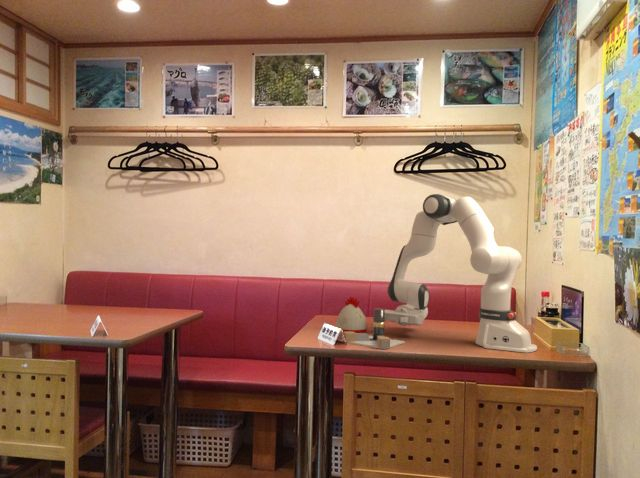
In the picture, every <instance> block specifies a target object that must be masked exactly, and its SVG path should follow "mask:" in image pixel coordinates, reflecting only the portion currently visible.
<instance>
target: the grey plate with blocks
mask: <svg viewBox="0 0 640 478" xmlns="http://www.w3.org/2000/svg"><path fill="white" fill-rule="evenodd" d="M343 335H344V338H345V340H346V342H347V343H346V344H350V343H351V344H352V345H356V346H364V347H369V348H375V349H380V350H386V349H387V350H388V349H390V348H392V347H396V346H399V345H402V344H405V341H404V340H398V339H391V338H390V337H389V336H385V335H384V336H377V340H373V335H370V334H369V333H368V332H366V333H355V332H353V331H349V332H343ZM351 344H350V345H351Z"/></svg>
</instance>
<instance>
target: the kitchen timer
mask: <svg viewBox="0 0 640 478" xmlns="http://www.w3.org/2000/svg"><path fill="white" fill-rule="evenodd" d="M346 299H347V300H345V301H344V305H345V306H344V307H343V308H342V309H341V311H339V314H338V315H337V319H336V322H335V327H338V328H341V329H342V330H343V332H349V331H353V332H355V333H365V332H366V333H368V326H367V325H368V324H367V321H366V315H365V314H364V313H363V311H362V310H361V308H360V307H359V304H360V300H358V298H357V297H354V296H353V297H352V296H349V298H346Z"/></svg>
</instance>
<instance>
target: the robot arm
mask: <svg viewBox="0 0 640 478" xmlns="http://www.w3.org/2000/svg"><path fill="white" fill-rule="evenodd" d="M454 223H455V224H456V223H457V224H458V225H459V227H460V228H461V230H462V232H463V235H464V236H465V237H466V239H467V241H468V242H469V247H470V249H471V254H470V257H469V261H470V265H471V267H472V268H473V270H474V271H475V272H478V273H481V274H484V275H487V278H486V281H485V283H484V284H483V285H482V287H481V288H480V289H481V290H480V307H479V312H478V320H479V321H478V322H479V327H478V334H477V336H476V340H475V344H476V345H477V346H479V347H480V346H481V347H482V348H485V349H488V350H489V349H490V350H499V351H508V352H509V351H510V352H517V353H527V354H528V353H533V352H535V351H537V350H538V346H537V345H536V344H534V343H533V344H532V340H531V339H532V338H531V334H530V332H529V331H528V329H526V328H525V327H524V326H522V325H521V324H520V323H519V322H518V321H517V320H516V315H517V312H515V311H513V310H512V309H511V299H512V289H513V288H512V287H513V283H514V280H515V276H516V274H517V272H518V269H520V268H521V265H522V262H523V258H522V254H521V253H520V251H519V250H517V249H515V248H512V247H510V246H507V245H506V246H505V245H503V246H502V245H501V246H499V245H498V244H497V242H496V240H495V236H494V233H495V228H494V226H493V225H492V223H491V221H490V219H489V218H488V217H487V215H486V213H485V212H484V210H483V209H482V207H481V206H480V205H479V204H478V202H477V201H476V200H475V199H474V198H473V197H470V196H468V195H467V196H462V197H460V198H458V199H454V198H452V197H450V196H448V195H442V194H439V193H434V194H430V195H428V196H426V198H425V199H424V201H423V203H422V211H419V212H418V213H416V215H415V218H414V221H413V223H412V227H411V234H410V238H409V240H408V242H407V243H406V244H405V245H403V246H402V248H401V250H400V253H399V255H398V258H397V262H396V265H395V268H394V272H393V274H392V277H391V280H390V282H389V283H388V287H387V295H388V297H389V299H390V301H392V302H394V303H404V304H401V305H398V306H397V307H396V308H395V310H391V309H385V321H389V322H395V323H397V324H398V325H400V326H402V327H407V326H423V324H424V320H425V319H426V318H427V316H428V314H429V309H428V305H429V303H430V291H429V289H428V287H427V286H426V284H424V283H420V282H412V281H406V280H404V279H405V276H406V273H407V269H408V267H409V264H410V262H412V260H414V259H417V258H420V257H424V256H427V255H429V254H430V253H432V251H433V250H434V249H435V247H436V244H437V243H436V242H437V234H438V229H439V227H440V226H441V225H443V226H447V225H449V224H454ZM406 303H407V304H406ZM405 304H406V305H405Z"/></svg>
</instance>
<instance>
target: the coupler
mask: <svg viewBox="0 0 640 478" xmlns="http://www.w3.org/2000/svg"><path fill="white" fill-rule="evenodd" d="M385 310H386V309H385V308H378V307H377V308H373V315H372V317H373V319H372V331H373V332H372V336H373V340H377V336H384V337H385V326H386V322H385V321H386V320H385Z"/></svg>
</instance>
